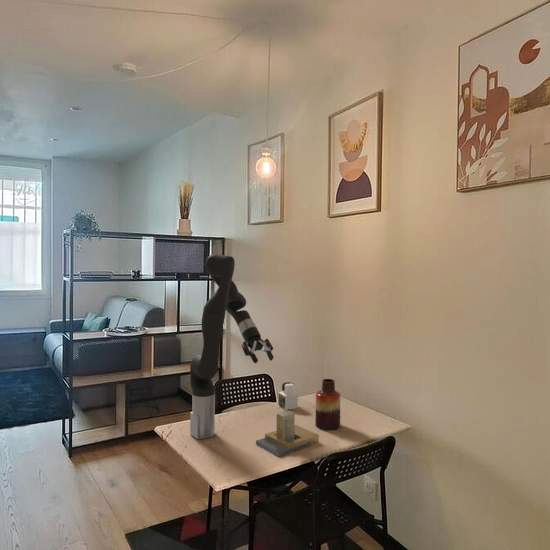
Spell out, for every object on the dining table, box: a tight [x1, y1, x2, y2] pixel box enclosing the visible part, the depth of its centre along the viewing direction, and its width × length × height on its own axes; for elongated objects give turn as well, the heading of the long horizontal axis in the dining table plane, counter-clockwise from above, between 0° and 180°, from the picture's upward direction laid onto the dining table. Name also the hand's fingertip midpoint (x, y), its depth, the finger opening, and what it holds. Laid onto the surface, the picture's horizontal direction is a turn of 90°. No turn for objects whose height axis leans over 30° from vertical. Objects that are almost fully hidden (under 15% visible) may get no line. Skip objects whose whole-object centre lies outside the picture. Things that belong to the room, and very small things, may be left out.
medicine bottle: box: [278, 381, 299, 411], centre depth 219 cm, size 7×7×12 cm
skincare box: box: [276, 410, 296, 442], centre depth 177 cm, size 6×4×12 cm
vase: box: [314, 378, 342, 432], centre depth 195 cm, size 11×11×20 cm
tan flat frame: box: [255, 424, 320, 458], centre depth 177 cm, size 21×14×3 cm, turn 129°
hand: (264, 360), depth 194 cm, fingers open, 8 cm apart
